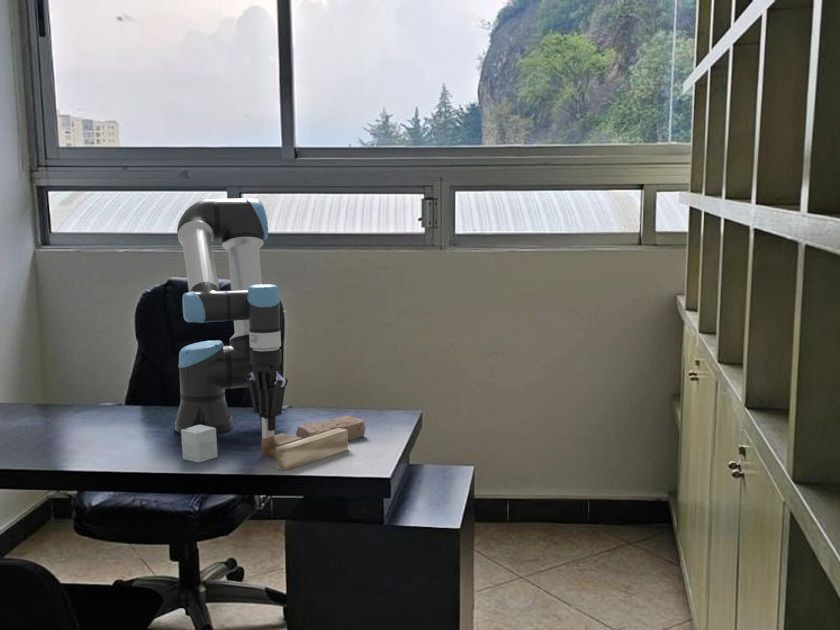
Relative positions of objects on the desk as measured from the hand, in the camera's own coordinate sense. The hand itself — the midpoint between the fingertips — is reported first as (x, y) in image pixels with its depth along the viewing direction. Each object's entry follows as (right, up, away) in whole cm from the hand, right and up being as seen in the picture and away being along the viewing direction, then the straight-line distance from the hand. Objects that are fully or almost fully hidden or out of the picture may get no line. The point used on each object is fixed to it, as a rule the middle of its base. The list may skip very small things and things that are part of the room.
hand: (268, 442), depth 219 cm
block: (+4, -3, -2) cm, 5 cm away
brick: (+14, -1, +11) cm, 18 cm away
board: (+12, -3, -6) cm, 14 cm away
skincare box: (-16, -3, -5) cm, 17 cm away
